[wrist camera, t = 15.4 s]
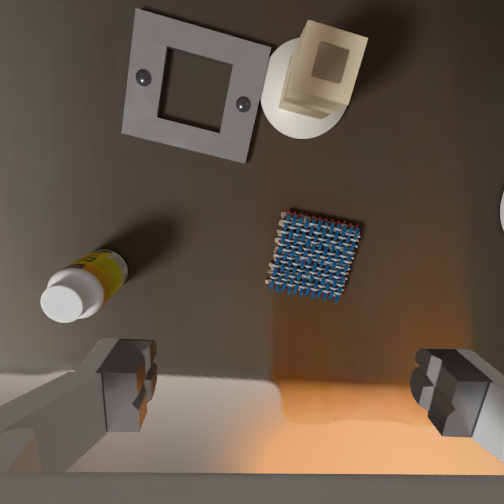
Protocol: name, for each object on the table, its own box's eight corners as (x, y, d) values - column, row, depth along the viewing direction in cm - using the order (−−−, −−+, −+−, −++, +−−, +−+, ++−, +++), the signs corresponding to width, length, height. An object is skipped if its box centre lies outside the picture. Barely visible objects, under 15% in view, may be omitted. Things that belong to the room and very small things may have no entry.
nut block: (334, 71, 33) (369, 36, 24) (320, 119, 34) (349, 104, 25) (289, 58, 32) (308, 18, 23) (277, 108, 34) (291, 88, 25)
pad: (355, 43, 33) (357, 40, 32) (342, 141, 35) (343, 141, 35) (262, 35, 32) (262, 32, 32) (256, 136, 35) (256, 135, 34)
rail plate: (270, 50, 32) (271, 47, 32) (245, 163, 36) (245, 163, 35) (138, 12, 31) (135, 7, 30) (124, 133, 34) (121, 133, 33)
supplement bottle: (113, 240, 38) (68, 267, 28) (137, 277, 39) (103, 315, 29) (75, 260, 38) (18, 293, 28) (101, 296, 40) (55, 339, 30)
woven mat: (360, 222, 39) (366, 226, 37) (337, 297, 42) (342, 304, 40) (281, 206, 38) (283, 209, 36) (263, 284, 41) (264, 290, 39)
